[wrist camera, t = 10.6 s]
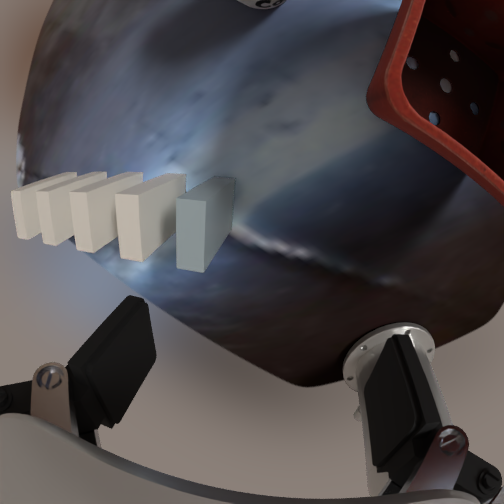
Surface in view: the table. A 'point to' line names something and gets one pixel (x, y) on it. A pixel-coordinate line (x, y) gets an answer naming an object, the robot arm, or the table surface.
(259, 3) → the cup
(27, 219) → the domino
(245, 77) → the table surface
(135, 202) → the domino
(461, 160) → the plant pot
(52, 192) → the domino
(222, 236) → the domino
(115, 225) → the domino
